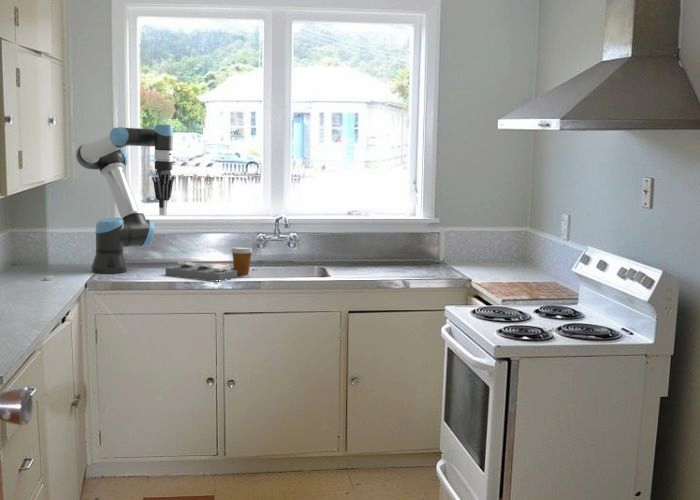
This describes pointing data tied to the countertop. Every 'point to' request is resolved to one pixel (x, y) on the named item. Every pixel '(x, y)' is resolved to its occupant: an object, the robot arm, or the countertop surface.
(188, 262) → the block
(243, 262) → the disposable coffee cup
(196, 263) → the rocker middle
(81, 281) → the countertop surface
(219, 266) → the rocker right
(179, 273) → the power strip
